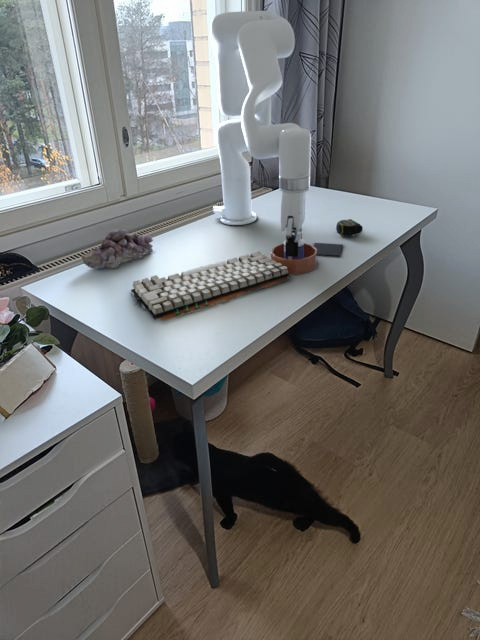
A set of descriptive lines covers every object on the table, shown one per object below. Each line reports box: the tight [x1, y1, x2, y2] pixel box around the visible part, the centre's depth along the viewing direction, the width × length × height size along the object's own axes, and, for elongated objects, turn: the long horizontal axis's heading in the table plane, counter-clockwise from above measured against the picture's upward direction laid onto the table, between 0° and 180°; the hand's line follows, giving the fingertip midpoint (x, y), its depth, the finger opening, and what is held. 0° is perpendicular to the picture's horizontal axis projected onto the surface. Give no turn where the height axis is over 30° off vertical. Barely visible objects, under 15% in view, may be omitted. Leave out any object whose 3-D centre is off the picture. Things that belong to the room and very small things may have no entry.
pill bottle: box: [283, 230, 305, 260], centre depth 119 cm, size 5×5×9 cm
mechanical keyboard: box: [130, 250, 292, 322], centre depth 113 cm, size 38×19×3 cm, turn 120°
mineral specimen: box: [81, 228, 154, 270], centre depth 128 cm, size 20×10×10 cm
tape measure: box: [335, 218, 364, 237], centre depth 137 cm, size 7×7×4 cm
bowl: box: [270, 242, 318, 275], centre depth 121 cm, size 12×12×4 cm
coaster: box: [313, 242, 343, 257], centre depth 129 cm, size 8×8×1 cm
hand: (293, 250), depth 120 cm, fingers closed on pill bottle, 5 cm apart
